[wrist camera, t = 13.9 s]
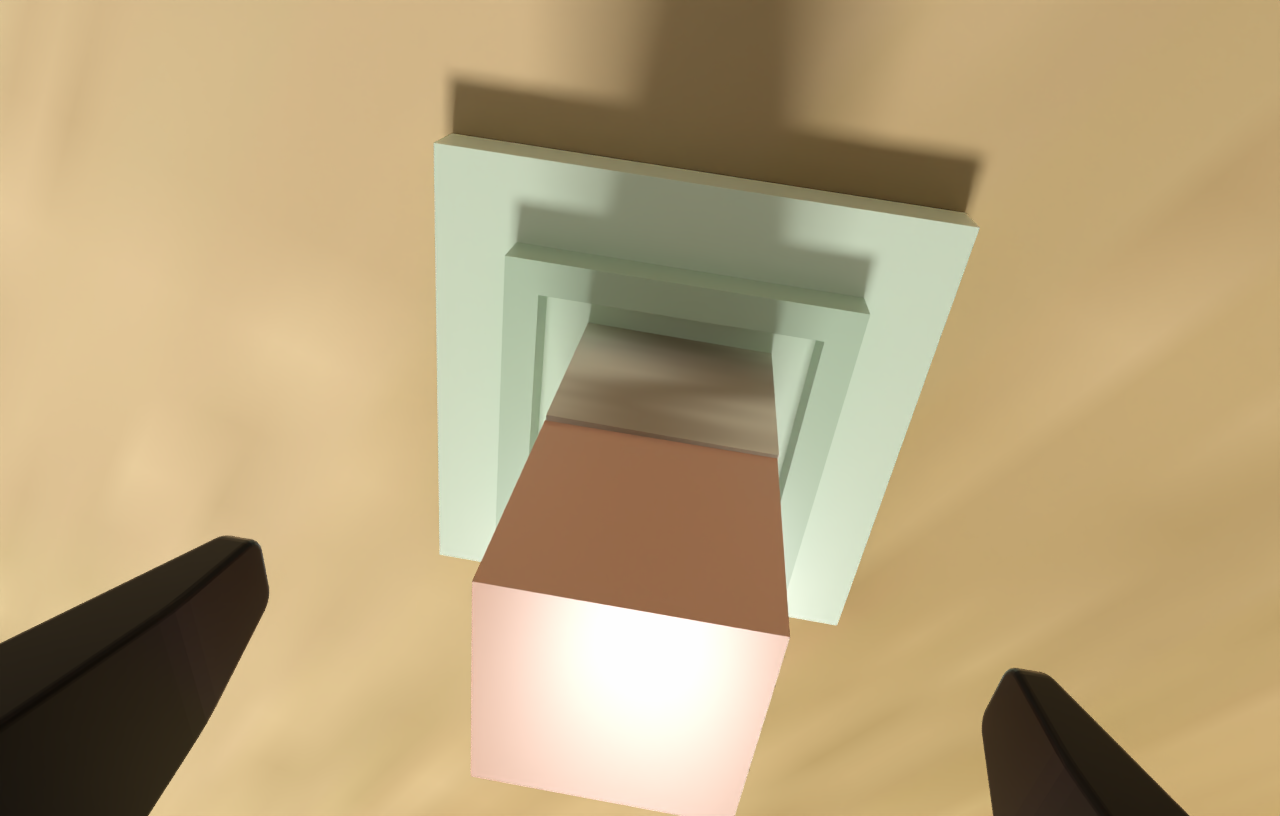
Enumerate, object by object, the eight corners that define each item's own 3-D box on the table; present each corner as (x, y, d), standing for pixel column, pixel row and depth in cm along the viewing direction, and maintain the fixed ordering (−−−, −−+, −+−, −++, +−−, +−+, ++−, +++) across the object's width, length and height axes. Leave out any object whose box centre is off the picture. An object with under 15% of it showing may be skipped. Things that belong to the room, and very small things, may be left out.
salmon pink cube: (776, 458, 14) (789, 637, 10) (734, 626, 17) (732, 825, 13) (544, 419, 14) (472, 581, 11) (533, 591, 17) (470, 776, 13)
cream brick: (771, 353, 18) (778, 455, 14) (735, 501, 20) (733, 624, 17) (588, 322, 18) (546, 414, 14) (573, 472, 21) (533, 587, 17)
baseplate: (965, 212, 17) (993, 241, 15) (832, 596, 23) (840, 651, 21) (451, 133, 18) (416, 151, 16) (453, 529, 24) (427, 577, 22)
